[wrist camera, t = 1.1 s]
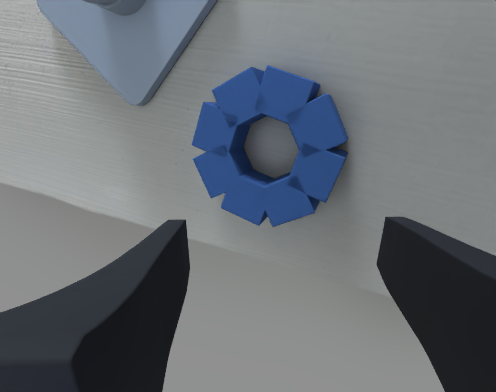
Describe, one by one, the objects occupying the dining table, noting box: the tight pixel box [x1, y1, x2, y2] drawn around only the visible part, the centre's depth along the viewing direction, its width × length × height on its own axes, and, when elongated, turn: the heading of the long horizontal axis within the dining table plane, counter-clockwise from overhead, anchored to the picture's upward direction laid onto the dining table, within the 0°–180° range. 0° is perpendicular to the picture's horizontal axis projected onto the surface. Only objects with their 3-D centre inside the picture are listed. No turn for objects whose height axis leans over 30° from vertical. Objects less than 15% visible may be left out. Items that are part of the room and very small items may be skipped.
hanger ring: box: [192, 66, 348, 227], centre depth 22 cm, size 10×10×3 cm
